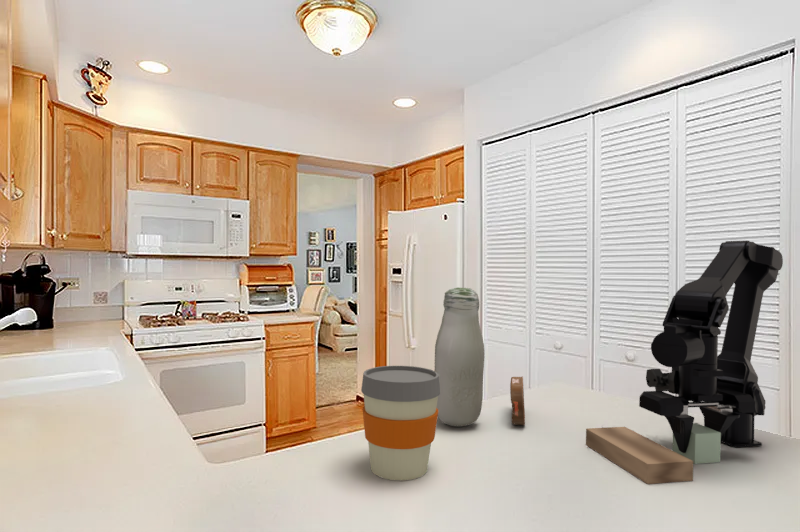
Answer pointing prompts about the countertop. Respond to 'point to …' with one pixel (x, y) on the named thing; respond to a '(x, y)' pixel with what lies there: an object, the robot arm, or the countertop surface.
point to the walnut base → (640, 455)
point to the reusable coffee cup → (400, 419)
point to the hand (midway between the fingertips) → (695, 451)
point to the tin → (517, 401)
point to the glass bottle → (460, 359)
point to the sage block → (701, 445)
